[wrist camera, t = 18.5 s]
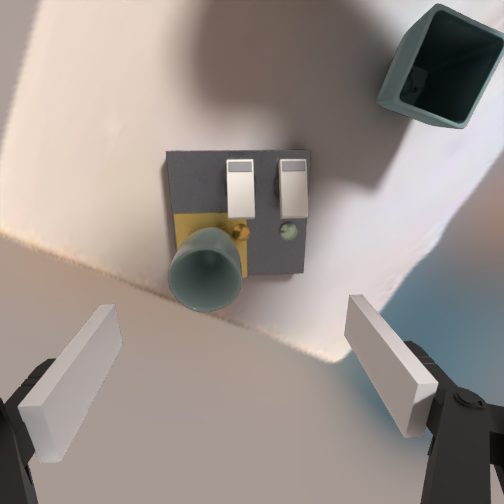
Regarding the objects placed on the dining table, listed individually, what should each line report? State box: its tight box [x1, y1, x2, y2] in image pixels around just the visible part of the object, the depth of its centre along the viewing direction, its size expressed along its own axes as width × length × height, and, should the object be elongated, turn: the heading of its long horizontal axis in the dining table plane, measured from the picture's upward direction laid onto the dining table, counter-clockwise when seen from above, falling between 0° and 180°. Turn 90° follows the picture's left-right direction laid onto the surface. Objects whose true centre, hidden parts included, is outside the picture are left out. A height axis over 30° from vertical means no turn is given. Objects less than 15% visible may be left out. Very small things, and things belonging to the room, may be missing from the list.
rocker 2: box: [278, 159, 309, 219], centre depth 36 cm, size 7×3×2 cm, turn 179°
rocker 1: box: [227, 159, 255, 220], centre depth 36 cm, size 7×3×2 cm, turn 179°
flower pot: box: [376, 4, 504, 129], centre depth 33 cm, size 9×9×9 cm
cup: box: [168, 227, 242, 312], centre depth 35 cm, size 8×8×10 cm
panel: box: [166, 150, 311, 278], centre depth 40 cm, size 17×18×3 cm
